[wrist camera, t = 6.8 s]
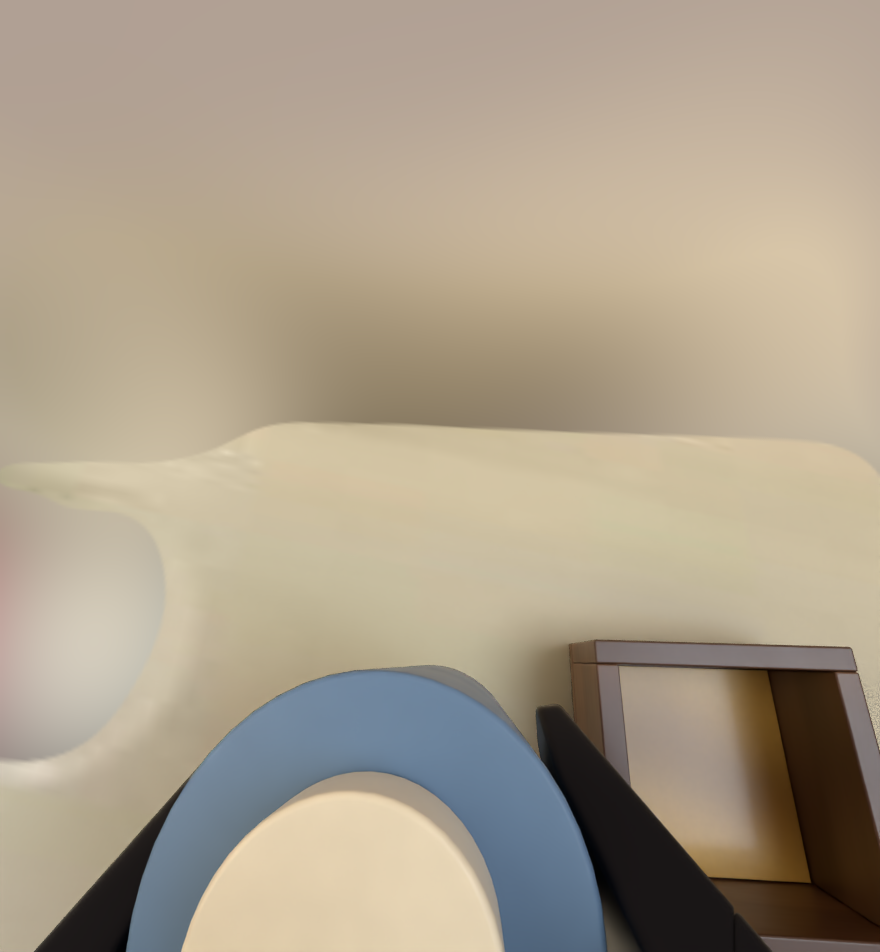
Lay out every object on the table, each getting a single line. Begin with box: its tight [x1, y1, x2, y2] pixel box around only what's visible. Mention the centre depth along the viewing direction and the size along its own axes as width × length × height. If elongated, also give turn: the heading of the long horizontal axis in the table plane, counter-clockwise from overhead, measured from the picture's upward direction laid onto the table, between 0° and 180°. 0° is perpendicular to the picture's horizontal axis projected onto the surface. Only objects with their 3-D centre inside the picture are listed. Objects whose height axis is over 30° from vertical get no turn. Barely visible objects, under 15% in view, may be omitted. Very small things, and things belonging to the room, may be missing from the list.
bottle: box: [126, 665, 607, 952], centre depth 9 cm, size 5×5×10 cm
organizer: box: [569, 640, 880, 952], centre depth 16 cm, size 17×9×4 cm, turn 178°
